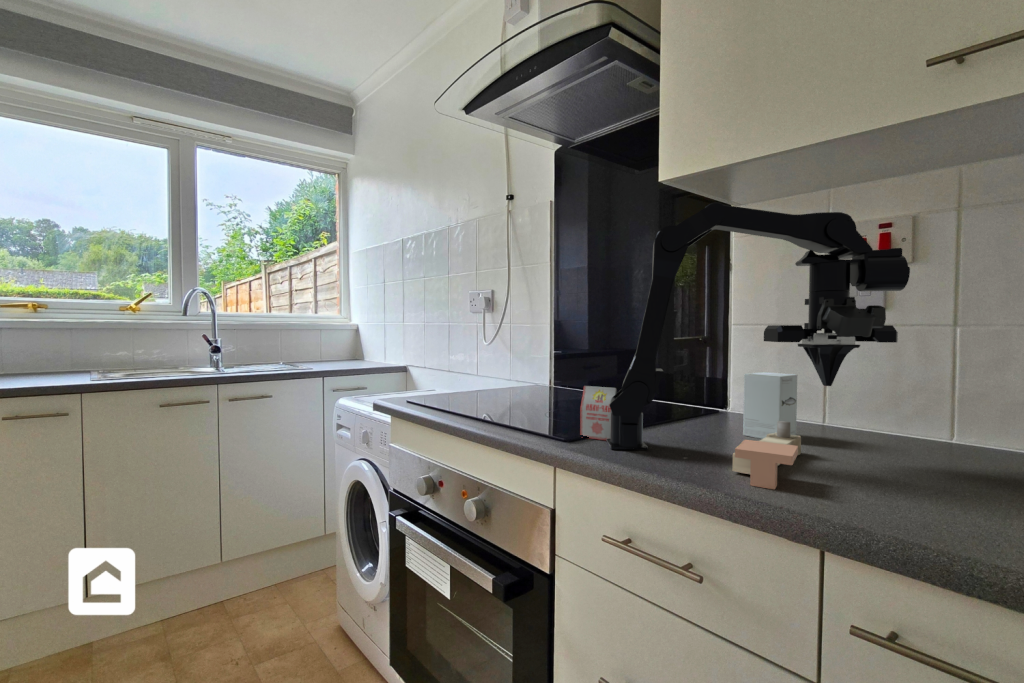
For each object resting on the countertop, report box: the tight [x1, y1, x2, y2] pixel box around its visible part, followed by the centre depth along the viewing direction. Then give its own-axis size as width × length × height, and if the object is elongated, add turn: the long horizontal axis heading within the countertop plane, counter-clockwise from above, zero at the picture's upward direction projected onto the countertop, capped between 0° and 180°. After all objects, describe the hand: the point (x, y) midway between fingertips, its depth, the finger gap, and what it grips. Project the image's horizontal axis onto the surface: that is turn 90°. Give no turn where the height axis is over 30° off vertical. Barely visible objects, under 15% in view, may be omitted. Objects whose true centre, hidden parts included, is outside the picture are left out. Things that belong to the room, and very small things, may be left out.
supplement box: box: [742, 371, 798, 440], centre depth 99 cm, size 7×7×13 cm
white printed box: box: [579, 385, 618, 442], centre depth 98 cm, size 4×7×10 cm, turn 57°
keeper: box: [734, 439, 799, 490], centre depth 70 cm, size 7×7×5 cm
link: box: [732, 421, 802, 475], centre depth 80 cm, size 21×5×5 cm, turn 136°
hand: (827, 385), depth 83 cm, fingers closed
